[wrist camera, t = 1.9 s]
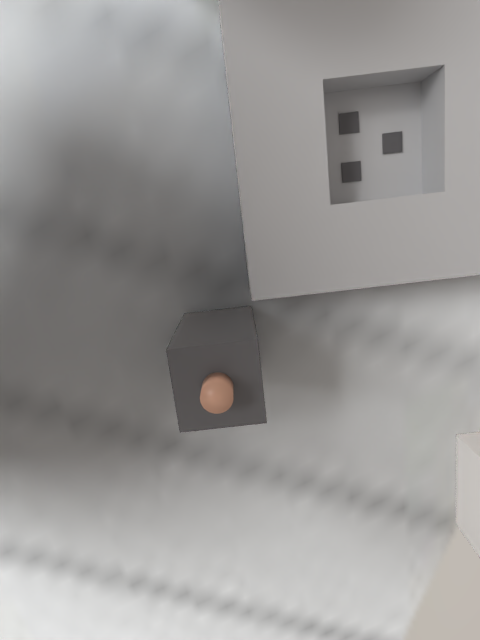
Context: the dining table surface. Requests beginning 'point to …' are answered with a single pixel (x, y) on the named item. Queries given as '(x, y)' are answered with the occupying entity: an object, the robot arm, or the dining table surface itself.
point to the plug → (216, 370)
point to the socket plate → (355, 141)
